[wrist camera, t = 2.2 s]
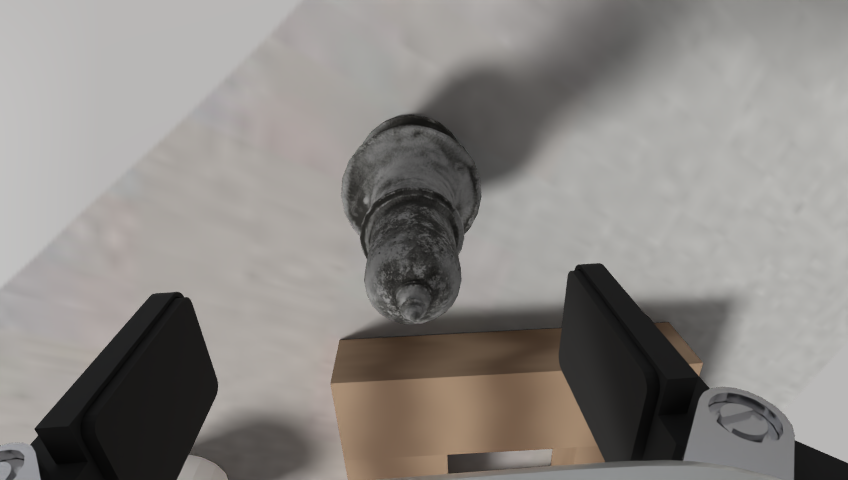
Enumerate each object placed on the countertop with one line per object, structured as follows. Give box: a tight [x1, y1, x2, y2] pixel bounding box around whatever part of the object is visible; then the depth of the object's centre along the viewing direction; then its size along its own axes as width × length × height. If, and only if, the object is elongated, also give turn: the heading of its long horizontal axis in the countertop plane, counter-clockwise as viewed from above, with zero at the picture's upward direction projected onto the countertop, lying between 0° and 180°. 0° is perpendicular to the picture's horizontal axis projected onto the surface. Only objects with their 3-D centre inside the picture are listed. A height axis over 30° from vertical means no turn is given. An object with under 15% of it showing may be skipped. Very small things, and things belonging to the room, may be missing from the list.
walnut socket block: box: [331, 322, 703, 480], centre depth 29 cm, size 20×20×4 cm
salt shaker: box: [341, 115, 481, 324], centre depth 17 cm, size 6×6×12 cm
